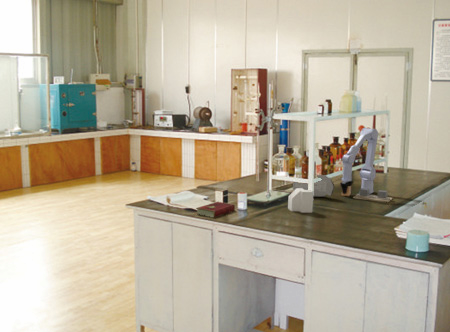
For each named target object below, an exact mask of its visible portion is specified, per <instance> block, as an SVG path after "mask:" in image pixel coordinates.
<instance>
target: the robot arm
mask: <svg viewBox="0 0 450 332" xmlns="http://www.w3.org/2000/svg"><path fill="white" fill-rule="evenodd" d="M359 133H360V135H359V136H358V139H357V140H356V142H355V144H354V145H351V146H350V148H349V149H348V151H347V152H346V154H343V156H342V157H341V162H342V167H343V168H342V178H340V180H341V182H340V183H339V184H340V187H341V192H343V194H346V192H347V188H348V186H351V187H352V185H353V183H354V181H352V176H353V175H352V174H353V173H352V171H353V164H354V162H355V160H356V156H357V155H358V153H359V152H360V147H362V145H363V144H364V142H365V141H367V142H368V144H367V151H366V156H365V163H364V165H362V166H361V169H360V171H359V177H360V179H361V187H360V189H361V188H366V189H369V195H372V194H373V193H374V192H375V190H374V180H375V178H376V175H377V174H376V168H375V167H374V161H375V156H376V150H377V149H376V148H377V144H378V138H379V131H378V130H377V128H370V127H369V128H368V127H363V128H361V131H360V132H359Z"/></svg>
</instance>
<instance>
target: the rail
mask: <svg viewBox="0 0 450 332" xmlns="http://www.w3.org/2000/svg"><path fill="white" fill-rule="evenodd" d="M372 195H373V194H369V195H368V196H362V195H360V193H357V194H356V195H355V196H362V197H370V198H378V197H377V195H375V196H372ZM388 197H389V196H387V197H386V198H378V199H386V200H389V199H390V198H388Z"/></svg>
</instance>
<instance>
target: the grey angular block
mask: <svg viewBox="0 0 450 332" xmlns="http://www.w3.org/2000/svg"><path fill="white" fill-rule="evenodd" d="M313 204H314V196H313V191H311V190H304V189H302V188H296V189H295V190H293V191H292V192H291V193H290V194H289V195H288V200H287V209H288V210H289V211H290V212H300V213H303V214H304V213H313Z"/></svg>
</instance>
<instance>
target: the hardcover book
mask: <svg viewBox="0 0 450 332" xmlns="http://www.w3.org/2000/svg"><path fill="white" fill-rule="evenodd" d="M195 209H196V214H197V215H199V214H200V216H204V215H205V216H206V217H209V216H210V218H217V217H219V216H223V215H225V214H228V213H231V212H234V211H235V210H236V205H235V204H234V203H228V202H223V201H222V202H221V201H215V202H212V203H208V204H205V205H202V206H198V207H196V208H195ZM205 216H204V217H205Z"/></svg>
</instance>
